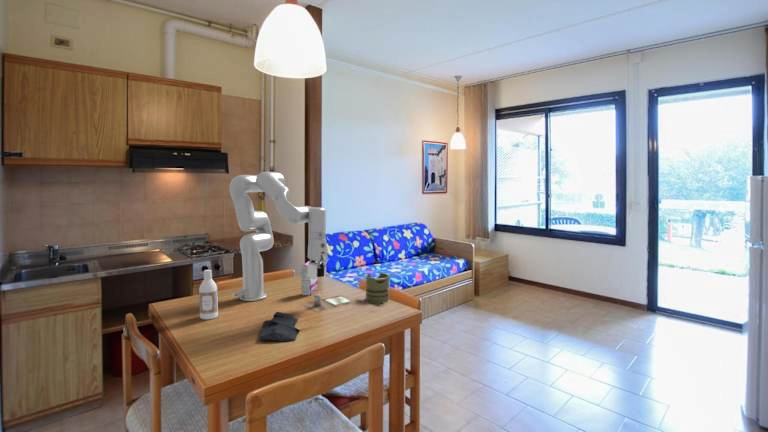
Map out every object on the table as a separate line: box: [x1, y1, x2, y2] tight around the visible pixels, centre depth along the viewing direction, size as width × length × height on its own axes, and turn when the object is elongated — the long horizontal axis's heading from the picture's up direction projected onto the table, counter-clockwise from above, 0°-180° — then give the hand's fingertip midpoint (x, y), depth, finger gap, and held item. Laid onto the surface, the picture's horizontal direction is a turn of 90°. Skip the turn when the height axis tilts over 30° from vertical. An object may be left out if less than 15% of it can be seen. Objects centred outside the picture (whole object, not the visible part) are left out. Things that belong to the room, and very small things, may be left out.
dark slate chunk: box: [259, 311, 301, 342], centre depth 149 cm, size 15×22×5 cm
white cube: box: [308, 262, 327, 280], centre depth 174 cm, size 6×6×6 cm
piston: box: [365, 272, 390, 304], centre depth 189 cm, size 11×12×11 cm
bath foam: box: [198, 269, 219, 321], centre depth 162 cm, size 7×7×20 cm
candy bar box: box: [300, 260, 319, 296], centre depth 196 cm, size 11×5×16 cm, turn 170°
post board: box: [300, 293, 357, 313], centre depth 179 cm, size 22×14×6 cm, turn 130°
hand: (316, 274), depth 174 cm, fingers closed on white cube, 6 cm apart
